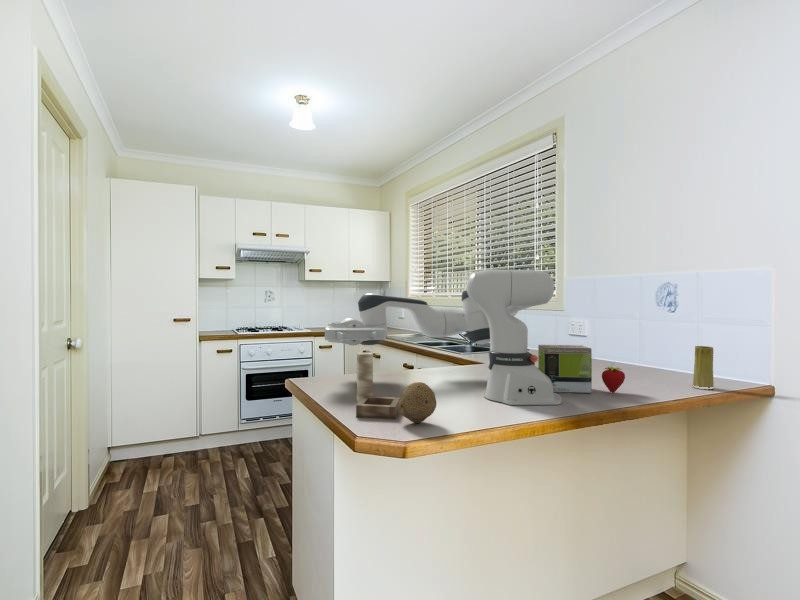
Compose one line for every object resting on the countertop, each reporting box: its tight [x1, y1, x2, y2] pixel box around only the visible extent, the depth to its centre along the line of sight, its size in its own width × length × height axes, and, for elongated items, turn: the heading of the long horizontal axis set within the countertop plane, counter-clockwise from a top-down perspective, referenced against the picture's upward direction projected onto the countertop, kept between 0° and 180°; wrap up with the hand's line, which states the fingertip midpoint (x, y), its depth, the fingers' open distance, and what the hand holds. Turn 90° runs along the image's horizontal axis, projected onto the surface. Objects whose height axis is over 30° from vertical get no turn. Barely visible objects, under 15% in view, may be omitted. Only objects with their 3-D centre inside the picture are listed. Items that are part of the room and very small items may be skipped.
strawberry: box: [601, 362, 626, 393], centre depth 146 cm, size 6×8×10 cm
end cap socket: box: [355, 396, 401, 420], centre depth 118 cm, size 10×10×3 cm
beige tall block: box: [356, 351, 374, 404], centre depth 130 cm, size 4×4×14 cm
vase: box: [692, 345, 715, 388], centre depth 155 cm, size 6×6×14 cm
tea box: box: [537, 344, 593, 394], centre depth 150 cm, size 15×10×15 cm
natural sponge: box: [398, 381, 437, 424], centre depth 109 cm, size 9×9×10 cm
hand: (358, 336), depth 142 cm, fingers open, 8 cm apart
